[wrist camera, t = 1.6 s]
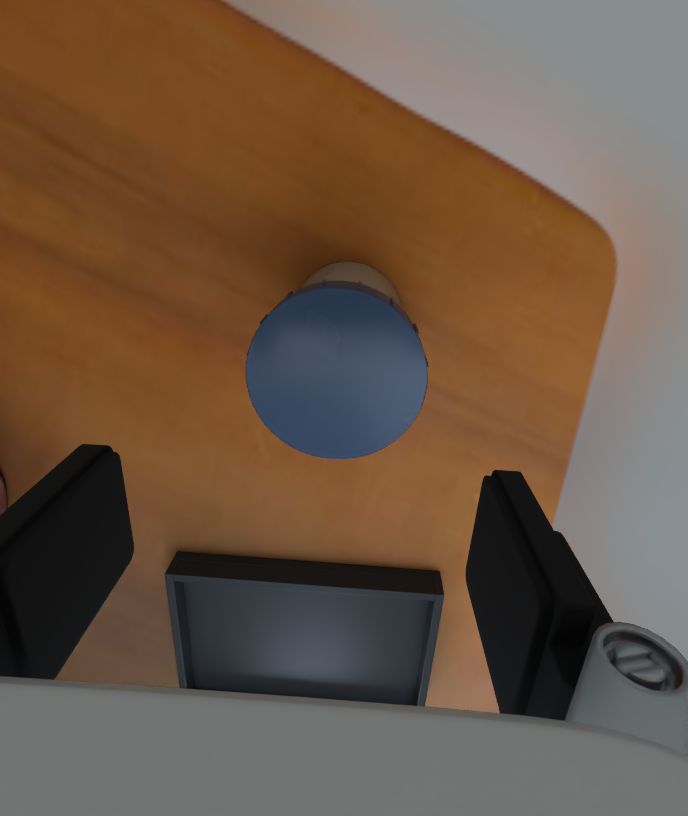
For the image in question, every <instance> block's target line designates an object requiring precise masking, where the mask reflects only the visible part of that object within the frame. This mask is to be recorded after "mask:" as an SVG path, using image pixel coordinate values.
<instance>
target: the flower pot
mask: <svg viewBox="0 0 688 816" xmlns="http://www.w3.org/2000/svg"><path fill="white" fill-rule="evenodd" d="M6 505H7V495H6V489H5V485H4V481H3V478H2V476H1V475H0V515H1V514H2V513H3V512H5V511H6Z"/></svg>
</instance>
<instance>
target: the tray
mask: <svg viewBox="0 0 688 816" xmlns="http://www.w3.org/2000/svg"><path fill="white" fill-rule="evenodd" d="M165 580H166V587H167V595H168V602H169V610H170V618H171V625H172V633H173V640H174V648H175V655H176V663H177V670H178V678H179V685H180V688H183V689H197V690H211V691H226V692H239V693H253V694H267V695H280V696H294V697H308V698H321V699H333V700H346V701H359V702H372V703H385V704H398V705H411V706H423V707H425V702H426V696H427V690H428V685H429V679H430V673H431V668H432V662H433V656H434V651H435V645H436V639H437V633H438V628H439V622H440V616H441V611H442V605H443V599H444V591H443V586H442V580H441V575H440V572H439V571H426V570H412V569H399V568H386V567H372V566H359V565H345V564H332V563H319V562H305V561H292V560H279V559H265V558H252V557H238V556H225V555H212V554H198V553H185V552H176V554H175V556H174V558H173V560H172V562H171V563H170V565H169V567H168V569H167V571H166V573H165Z"/></svg>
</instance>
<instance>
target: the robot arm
mask: <svg viewBox="0 0 688 816" xmlns="http://www.w3.org/2000/svg"><path fill="white" fill-rule="evenodd" d="M133 552H134V543H133V536H132V530H131V524H130V517H129V511H128V504H127V498H126V492H125V485H124V479H123V473H122V466H121V460H120V456H119V454H118V453H117V452H113V450H112V448H111V447H110V446H106V445H90V444H82V445H80V446H79V447H78V448H77V449H76V450H74V451H73V452H72V453H71V454H70V455H69V456H68V457H66V458H65V459H64V460H63V461H62V462H61V463H60V464H58V465H57V466H56V467H55V468H54V469H53V470H52V471H50V472H49V473H48V474H47V475H46V476H45V477H44V478H42V479H41V480H40V481H39V482H38V483H37V484H36V485H34V486H33V487H32V488H31V489H30V490H29V491H28V492H26V493H25V494H24V495H23V496H22V497H21V498H20V499H18V500H17V501H16V502H15V503H14V504H13V505H11V506H10V507H9V508H8V509H7V510H6V511H5V512H3V513H2V514H1V515H0V816H688V662H687V660H686V659H685V658H684V657H683V656H682V655H681V653H680V652H679V651H678V650H677V649H676V648H675V647H674V646H672V645H671V644H670V643H669V642H667V641H666V640H665V639H663V638H662V637H660V636H658V635H656V634H655V633H653V632H651V631H649V630H648V629H645V628H642V627H639V626H636V625H634V624H629V623H622V622H613V620H612V618H611V617H610V615H609V613H608V612H607V610H606V608H605V606H604V605H603V603H602V601H601V599H600V598H599V596H598V594H597V593H596V591H595V589H594V588H593V586H592V584H591V582H590V581H589V579H588V577H587V575H586V574H585V572H584V570H583V569H582V567H581V565H580V564H579V562H578V560H577V558H576V557H575V555H574V553H573V552H572V550H571V548H570V546H569V545H568V543H567V541H566V539H565V538H564V537H563V535H562V534H561V533H559V532H557V531H554V530H553V528H552V527H551V525H550V523H549V521H548V519H547V518H546V516H545V514H544V512H543V511H542V509H541V507H540V505H539V503H538V502H537V500H536V498H535V496H534V495H533V493H532V491H531V489H530V487H529V486H528V484H527V482H526V480H525V479H524V477H523V475H522V474H521V472H518V471H503V470H494V471H493V473H492V475H491V476H485V477H484V478H483V482H482V487H481V492H480V498H479V503H478V508H477V513H476V518H475V524H474V529H473V534H472V539H471V544H470V550H469V555H468V560H467V565H466V583H467V588H468V591H469V595H470V599H471V603H472V607H473V611H474V614H475V618H476V622H477V626H478V630H479V634H480V637H481V641H482V645H483V649H484V653H485V657H486V661H487V664H488V668H489V672H490V676H491V680H492V684H493V687H494V691H495V695H496V699H497V703H498V707H499V711H500V713H490V712H480V711H469V710H459V709H448V708H436V707H423V706H411V705H398V704H385V703H372V702H359V701H346V700H333V699H321V698H308V697H294V696H280V695H267V694H253V693H239V692H226V691H211V690H197V689H183V688H169V687H155V686H141V685H126V684H111V683H95V682H80V681H65V680H54V679H55V678H56V676H57V675H58V673H59V672H60V670H61V668H62V667H63V665H64V664H65V662H66V661H67V659H68V658H69V656H70V654H71V653H72V651H73V650H74V648H75V647H76V645H77V644H78V642H79V640H80V639H81V637H82V636H83V634H84V633H85V631H86V630H87V628H88V626H89V625H90V623H91V622H92V620H93V619H94V617H95V616H96V614H97V613H98V611H99V609H100V608H101V606H102V605H103V603H104V602H105V600H106V599H107V597H108V595H109V594H110V592H111V591H112V589H113V588H114V586H115V585H116V583H117V581H118V580H119V578H120V577H121V575H122V574H123V572H124V571H125V569H126V567H127V566H128V564H129V563H130V561H131V559H132V556H133Z"/></svg>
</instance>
